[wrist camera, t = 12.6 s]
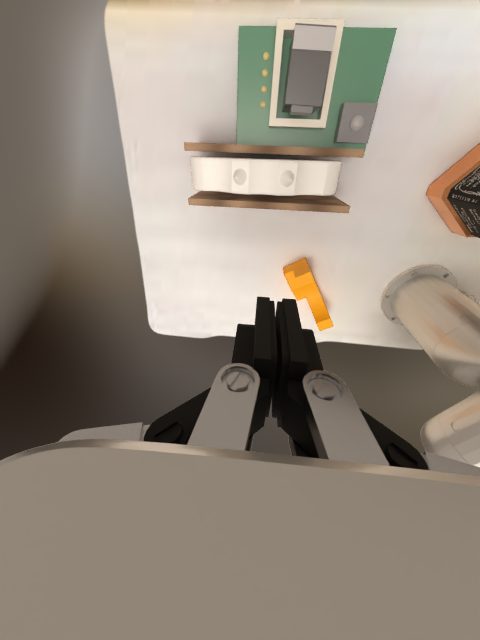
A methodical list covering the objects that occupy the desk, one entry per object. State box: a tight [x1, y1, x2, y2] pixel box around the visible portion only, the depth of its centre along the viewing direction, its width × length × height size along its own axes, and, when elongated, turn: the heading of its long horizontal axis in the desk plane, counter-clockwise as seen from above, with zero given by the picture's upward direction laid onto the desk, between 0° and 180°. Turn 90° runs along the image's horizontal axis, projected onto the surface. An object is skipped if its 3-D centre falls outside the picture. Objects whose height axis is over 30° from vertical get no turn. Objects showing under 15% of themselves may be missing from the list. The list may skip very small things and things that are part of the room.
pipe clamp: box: [283, 258, 333, 331], centre depth 46 cm, size 12×4×6 cm, turn 29°
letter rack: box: [184, 142, 365, 213], centre depth 34 cm, size 21×7×9 cm, turn 88°
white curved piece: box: [190, 157, 342, 196], centre depth 32 cm, size 3×18×15 cm, turn 89°
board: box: [237, 18, 397, 149], centre depth 31 cm, size 18×11×4 cm, turn 88°
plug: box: [282, 23, 337, 116], centre depth 29 cm, size 4×7×7 cm, turn 176°
